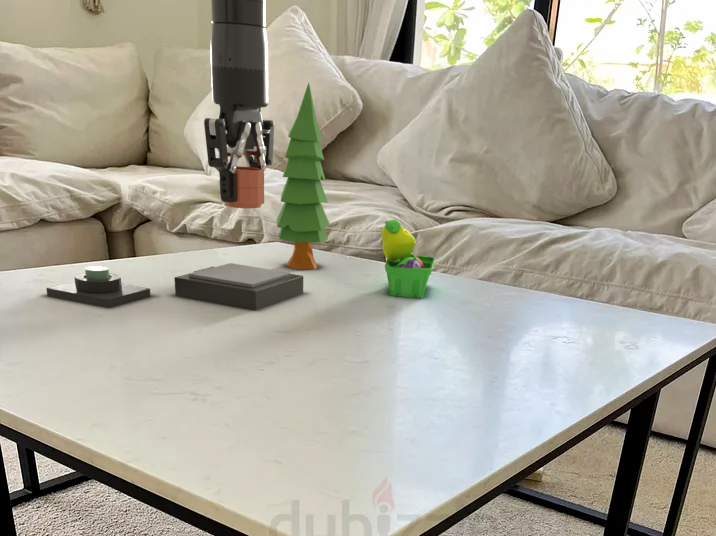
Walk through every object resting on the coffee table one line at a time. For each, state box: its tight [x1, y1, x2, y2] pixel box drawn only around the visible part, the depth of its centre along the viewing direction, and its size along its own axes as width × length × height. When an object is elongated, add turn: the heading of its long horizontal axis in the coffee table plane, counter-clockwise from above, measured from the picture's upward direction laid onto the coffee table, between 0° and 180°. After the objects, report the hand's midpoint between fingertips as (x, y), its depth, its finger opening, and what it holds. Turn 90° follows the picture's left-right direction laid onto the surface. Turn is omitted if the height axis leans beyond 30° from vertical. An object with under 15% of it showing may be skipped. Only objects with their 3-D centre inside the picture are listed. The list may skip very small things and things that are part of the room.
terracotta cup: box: [220, 165, 265, 209], centre depth 111 cm, size 6×6×5 cm
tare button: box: [84, 265, 110, 280], centre depth 112 cm, size 3×3×2 cm
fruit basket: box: [381, 219, 436, 299], centre depth 127 cm, size 11×9×11 cm
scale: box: [173, 262, 304, 311], centre depth 119 cm, size 14×14×4 cm
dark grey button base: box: [46, 272, 152, 309], centre depth 113 cm, size 11×9×3 cm
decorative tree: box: [275, 82, 330, 270], centre depth 136 cm, size 10×9×30 cm
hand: (242, 199), depth 112 cm, fingers closed on terracotta cup, 6 cm apart
